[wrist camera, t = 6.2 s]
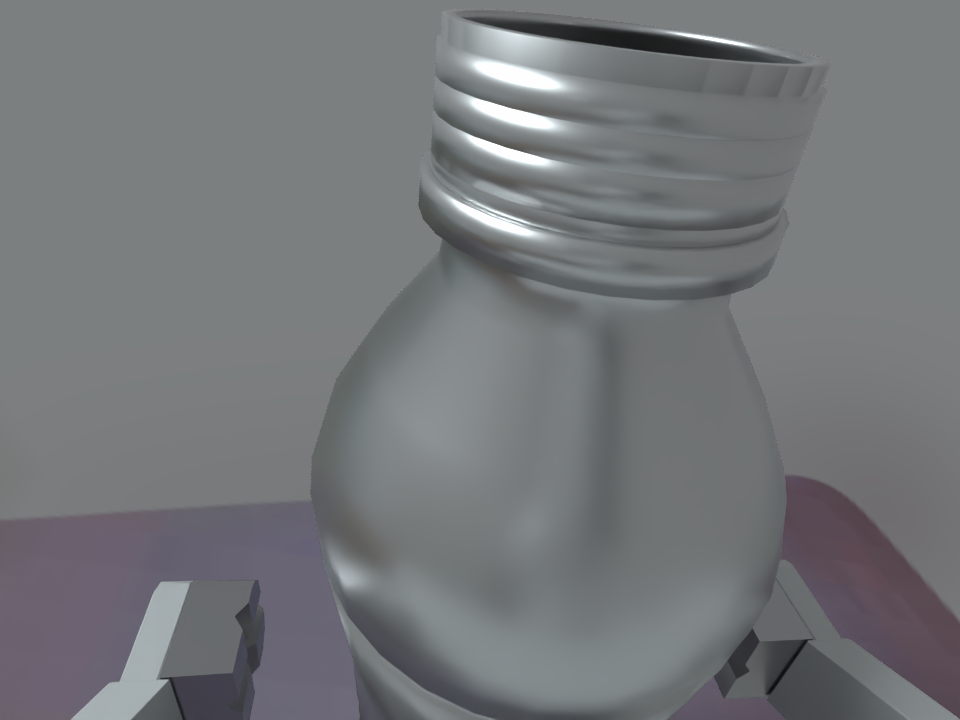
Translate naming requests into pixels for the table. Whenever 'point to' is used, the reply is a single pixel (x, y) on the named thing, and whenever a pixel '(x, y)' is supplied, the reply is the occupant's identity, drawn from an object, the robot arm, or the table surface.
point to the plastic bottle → (569, 379)
